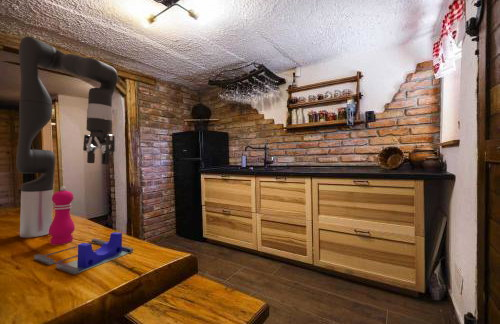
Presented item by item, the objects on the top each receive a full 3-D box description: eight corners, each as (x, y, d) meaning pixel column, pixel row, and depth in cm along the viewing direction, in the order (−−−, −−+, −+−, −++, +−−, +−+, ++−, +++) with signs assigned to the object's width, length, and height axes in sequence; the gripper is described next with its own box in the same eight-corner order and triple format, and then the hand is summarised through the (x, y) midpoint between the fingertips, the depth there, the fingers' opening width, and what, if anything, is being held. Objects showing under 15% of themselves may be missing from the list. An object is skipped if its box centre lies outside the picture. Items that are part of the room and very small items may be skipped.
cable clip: (110, 249, 74) (110, 231, 74) (121, 251, 73) (122, 233, 73) (73, 265, 63) (73, 243, 63) (85, 267, 62) (86, 245, 62)
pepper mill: (43, 243, 80) (45, 186, 80) (66, 237, 86) (68, 184, 86) (56, 246, 77) (57, 187, 77) (79, 240, 84) (80, 186, 84)
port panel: (34, 259, 67) (34, 254, 67) (94, 241, 83) (94, 238, 83) (74, 274, 58) (74, 270, 58) (132, 252, 74) (133, 248, 74)
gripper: (76, 117, 81) (74, 162, 81) (101, 115, 75) (99, 164, 75) (98, 121, 88) (96, 162, 88) (122, 119, 82) (120, 164, 82)
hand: (98, 163), depth 81 cm, fingers open, 8 cm apart
